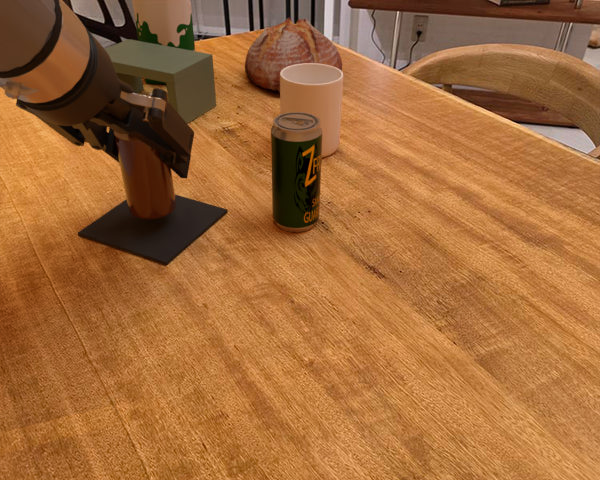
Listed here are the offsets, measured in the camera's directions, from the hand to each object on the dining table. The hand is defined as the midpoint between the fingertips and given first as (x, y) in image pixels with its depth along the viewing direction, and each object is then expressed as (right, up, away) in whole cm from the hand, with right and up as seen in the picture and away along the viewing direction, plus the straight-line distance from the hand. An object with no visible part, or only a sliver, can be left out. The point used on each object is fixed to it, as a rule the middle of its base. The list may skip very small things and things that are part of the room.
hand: (160, 163), depth 67 cm
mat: (-1, -7, +1) cm, 7 cm away
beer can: (+15, -6, +2) cm, 17 cm away
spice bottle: (-1, -5, -1) cm, 5 cm away
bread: (+14, +24, +38) cm, 47 cm away
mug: (+17, +7, +18) cm, 26 cm away
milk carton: (-7, +24, +38) cm, 45 cm away
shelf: (-7, +15, +27) cm, 32 cm away
